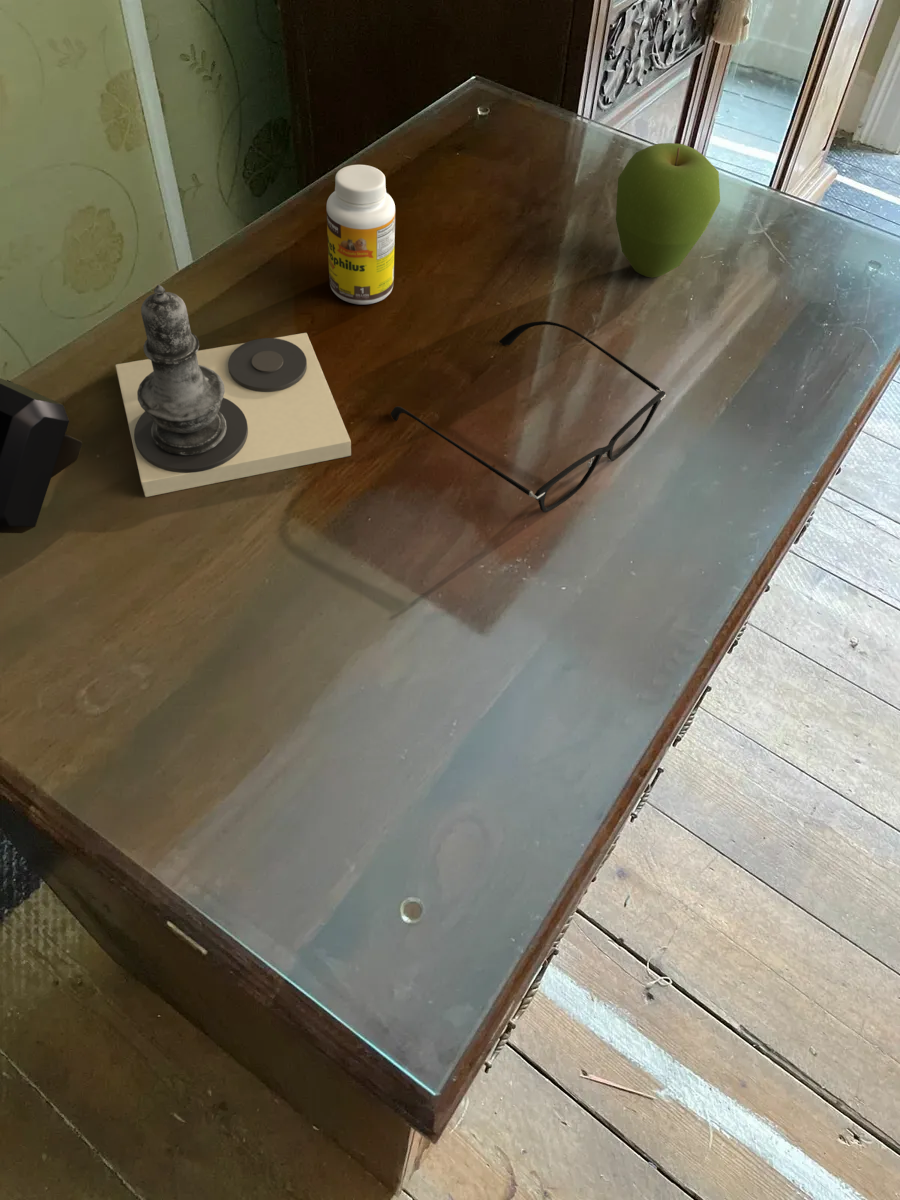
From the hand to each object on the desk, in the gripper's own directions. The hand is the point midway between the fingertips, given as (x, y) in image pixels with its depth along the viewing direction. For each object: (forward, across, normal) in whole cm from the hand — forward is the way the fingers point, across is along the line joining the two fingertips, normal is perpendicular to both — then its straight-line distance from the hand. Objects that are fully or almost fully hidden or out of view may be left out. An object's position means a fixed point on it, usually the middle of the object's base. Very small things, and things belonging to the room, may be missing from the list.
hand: (11, 419), depth 52 cm
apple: (+47, -20, -28) cm, 59 cm away
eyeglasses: (+30, -19, -10) cm, 37 cm away
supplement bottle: (+36, 0, -16) cm, 39 cm away
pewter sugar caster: (+18, 0, -1) cm, 18 cm away
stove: (+22, 0, -3) cm, 22 cm away
